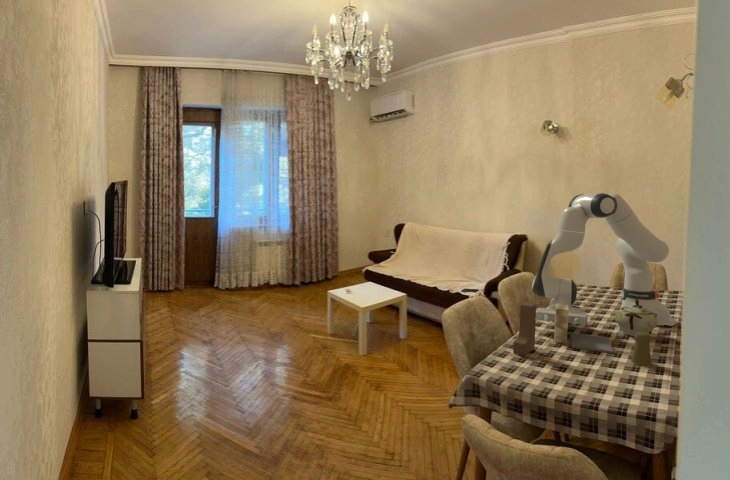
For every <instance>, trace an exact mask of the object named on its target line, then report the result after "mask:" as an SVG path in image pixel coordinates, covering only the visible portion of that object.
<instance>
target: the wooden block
mask: <svg viewBox="0 0 730 480" xmlns="http://www.w3.org/2000/svg"><path fill="white" fill-rule="evenodd" d="M536 309H537V304H536V303H532V302H531V303H530V302H523V303H521V304H520V307H519V329H518V335H517V337H516V339H515V340H513V344H512V345H513V348H512V352H513V354H517V355H519V356H523V357H524V356H526V355H528V354H530V353H531V352H532V351H534V350H535V343H536V341H535V340H536V322H537V319H536Z"/></svg>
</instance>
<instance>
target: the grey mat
mask: <svg viewBox="0 0 730 480" xmlns="http://www.w3.org/2000/svg"><path fill="white" fill-rule="evenodd" d="M569 333H570V342H571V349H578V350H585V351H593V352H601V353H608V354H614V348H613V347H612V343H611V340H610V338H609V336H600V335H593V334H584V333H576V332H575V333H574V332H569Z"/></svg>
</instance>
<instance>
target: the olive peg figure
mask: <svg viewBox="0 0 730 480" xmlns="http://www.w3.org/2000/svg"><path fill="white" fill-rule="evenodd" d="M633 338H634V340H635V343H634V348H633V351H632V356H631V359H630V361H631V363H633V364H634V365H637V366H643V367H650V366H651V365H652V358H651V357H652V356H651V345H650V344H651V342H652V339H653V337H652V334H650V333H646V332H636V333H635V335H634V336H633Z"/></svg>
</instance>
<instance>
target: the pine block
mask: <svg viewBox="0 0 730 480" xmlns="http://www.w3.org/2000/svg"><path fill="white" fill-rule="evenodd" d="M568 311H569V309H568V305H560V304H556V313H555V322H554V331H553V333H554V335H553V337H554V338H553V340H554V341H553V342H554V343H558V344H564V345H565V344H566V345H567V343H568V342H567V341H568V326H569V325H568V324H569V323H568Z"/></svg>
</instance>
